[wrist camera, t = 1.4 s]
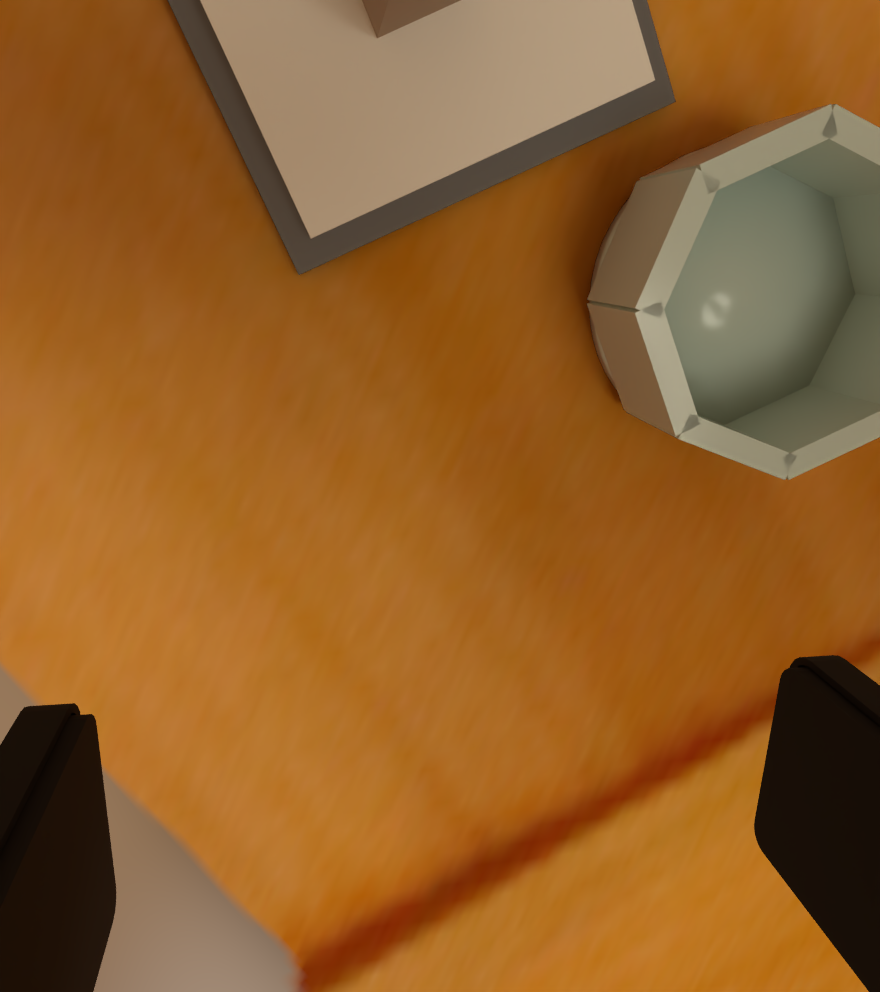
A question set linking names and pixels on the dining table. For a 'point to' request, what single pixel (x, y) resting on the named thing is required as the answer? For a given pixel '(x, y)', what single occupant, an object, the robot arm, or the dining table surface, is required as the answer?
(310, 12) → the lid
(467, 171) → the mat
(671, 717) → the dining table surface
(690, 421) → the bowl
